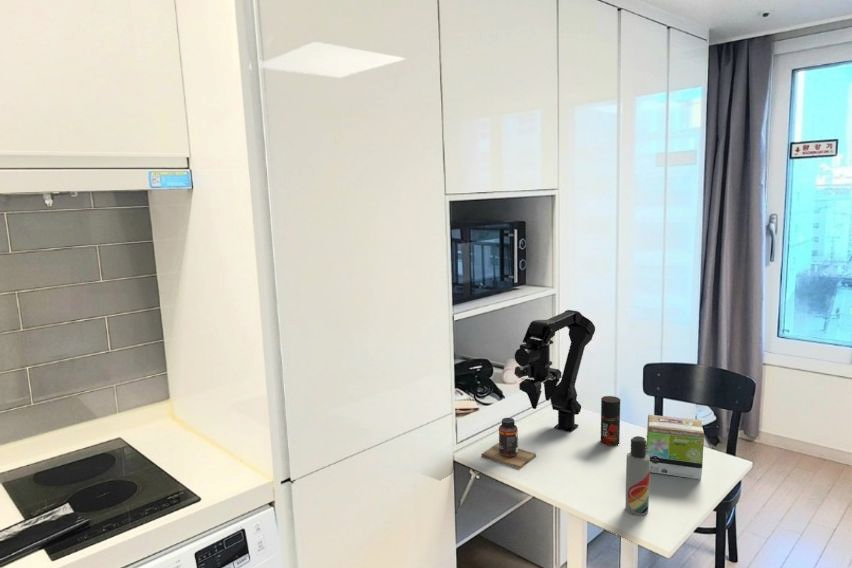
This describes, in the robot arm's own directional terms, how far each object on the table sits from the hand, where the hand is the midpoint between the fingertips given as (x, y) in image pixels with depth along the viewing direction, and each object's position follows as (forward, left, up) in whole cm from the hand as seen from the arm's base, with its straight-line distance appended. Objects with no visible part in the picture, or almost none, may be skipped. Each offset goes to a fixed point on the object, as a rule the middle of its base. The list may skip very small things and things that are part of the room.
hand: (540, 404), depth 192 cm
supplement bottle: (+16, -3, -12) cm, 20 cm away
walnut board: (+16, -3, -13) cm, 21 cm away
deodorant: (-12, +19, -13) cm, 26 cm away
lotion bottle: (+23, +40, -13) cm, 48 cm away
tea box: (-5, +41, -13) cm, 43 cm away
